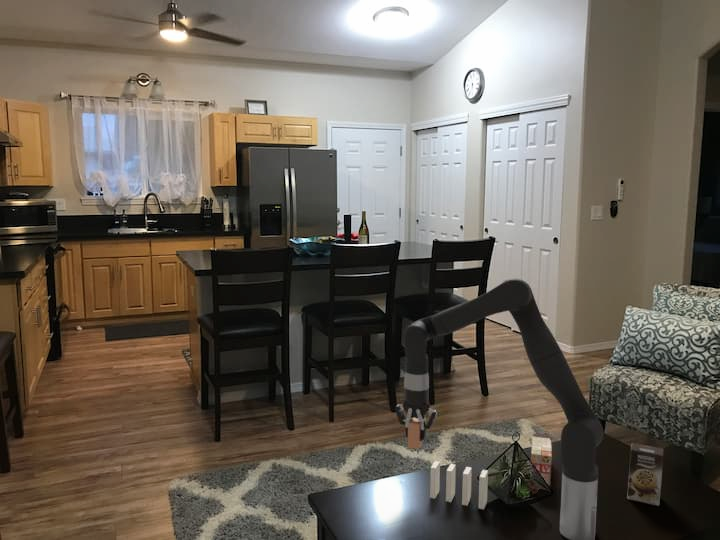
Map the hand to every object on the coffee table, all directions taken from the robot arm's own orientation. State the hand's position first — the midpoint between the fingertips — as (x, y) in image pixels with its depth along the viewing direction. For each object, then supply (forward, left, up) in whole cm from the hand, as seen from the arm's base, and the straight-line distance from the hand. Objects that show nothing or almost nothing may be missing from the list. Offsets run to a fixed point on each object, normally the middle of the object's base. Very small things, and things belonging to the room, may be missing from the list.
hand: (415, 438), depth 182 cm
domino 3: (-12, 0, -17) cm, 21 cm away
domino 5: (-22, 0, -17) cm, 28 cm away
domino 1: (0, 0, -2) cm, 2 cm away
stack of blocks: (-35, -27, -18) cm, 48 cm away
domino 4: (-17, 0, -17) cm, 24 cm away
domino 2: (-7, 0, -17) cm, 19 cm away
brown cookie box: (-67, -24, -18) cm, 73 cm away
